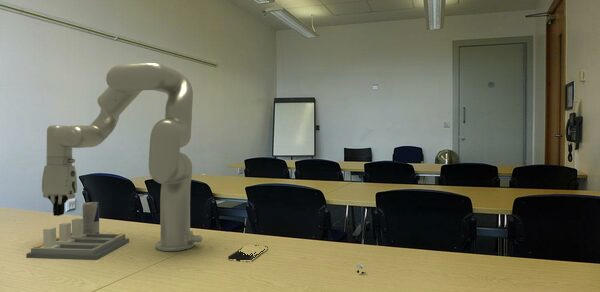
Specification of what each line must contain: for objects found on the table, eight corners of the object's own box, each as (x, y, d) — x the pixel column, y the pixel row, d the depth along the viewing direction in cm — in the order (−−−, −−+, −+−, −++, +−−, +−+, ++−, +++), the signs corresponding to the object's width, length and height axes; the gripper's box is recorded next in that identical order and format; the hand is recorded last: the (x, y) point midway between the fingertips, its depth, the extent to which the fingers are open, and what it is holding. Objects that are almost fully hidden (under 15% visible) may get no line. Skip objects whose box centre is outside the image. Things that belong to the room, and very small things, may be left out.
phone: (268, 246, 134) (250, 259, 119) (268, 249, 134) (250, 263, 119) (247, 244, 136) (226, 257, 121) (247, 247, 136) (226, 260, 122)
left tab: (60, 249, 127) (60, 227, 126) (53, 252, 123) (52, 229, 123) (47, 248, 127) (46, 226, 127) (39, 252, 123) (39, 229, 123)
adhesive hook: (354, 273, 112) (354, 261, 112) (362, 271, 113) (362, 260, 113) (360, 276, 109) (360, 265, 109) (368, 275, 110) (368, 264, 110)
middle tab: (74, 243, 133) (74, 222, 133) (68, 246, 130) (68, 224, 129) (62, 243, 133) (61, 222, 133) (55, 246, 130) (55, 224, 130)
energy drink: (102, 233, 151) (102, 202, 151) (93, 237, 146) (93, 204, 145) (88, 233, 151) (88, 201, 151) (79, 237, 146) (79, 204, 146)
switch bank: (129, 241, 140) (129, 233, 140) (96, 259, 120) (96, 250, 120) (68, 240, 142) (68, 231, 142) (26, 257, 122) (26, 247, 122)
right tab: (86, 238, 139) (86, 218, 139) (80, 241, 136) (80, 220, 136) (74, 238, 140) (74, 218, 140) (68, 240, 136) (67, 220, 136)
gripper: (87, 161, 141) (86, 213, 141) (46, 160, 142) (45, 211, 142) (73, 163, 133) (72, 218, 134) (30, 161, 134) (29, 216, 135)
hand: (58, 214), depth 138 cm, fingers closed
